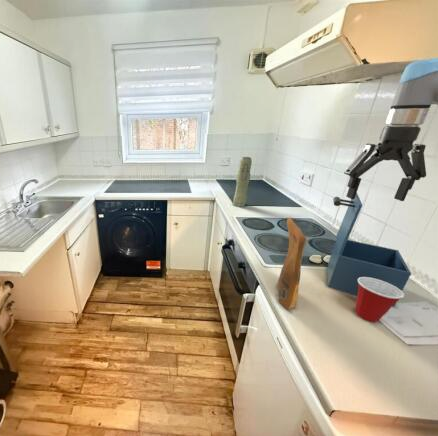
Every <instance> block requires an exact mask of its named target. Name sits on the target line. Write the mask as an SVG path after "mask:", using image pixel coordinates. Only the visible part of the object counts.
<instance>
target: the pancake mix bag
mask: <svg viewBox="0 0 438 436" xmlns="http://www.w3.org/2000/svg"><path fill="white" fill-rule="evenodd" d="M286 225H287V232H288V239H289V240H288V248H287V249H288V250H287V254H286V257H285V259H284V262H283V265H282V267H281V270H280V274H279V277H278V280H277V291H278V299H279V304H280V305H281V306H282V307H283V308H285V310H287V311H289V312H290V311H291V309H293V308H295V306H296V303H297V300H298V298H299V297H298V295H299V288H300V280H301V271H302V261H303V257H304V256H303V255H304V252H305V247H306V244H307V242H308V240H307V238H306V236H305V234H304V233H303V231H302V230H301V228H300V227H299V226H298V225H297V224H296V223H295V221H294V220H293V218H292V217H291V216H290V217H289V218H287V220H286Z"/></svg>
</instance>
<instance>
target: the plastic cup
mask: <svg viewBox="0 0 438 436" xmlns="http://www.w3.org/2000/svg"><path fill="white" fill-rule="evenodd" d="M357 281H358V295H356V305H355V313H356V315H357V316H358V317H359V318H361V319H362V320H365V321H367V322H372V323H378V322H379V321H380V320H381V319H382V318H383V317H384V316H385V315H386V314H387V313H388V311H390V310H391V308H393V305H394V304H395V303H396V304H397V302H398V301H399V300H401V299H403V298H404V297H405V295H406V294H405V293H404V292H403V290H402V291H401V290H400V289H398V288H397V287H395V286H393V285H391V284H389V283H387V282H384V281H382V280H379V279H375V278H370V277H359V278H358V279H357ZM396 304H395V305H396Z"/></svg>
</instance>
